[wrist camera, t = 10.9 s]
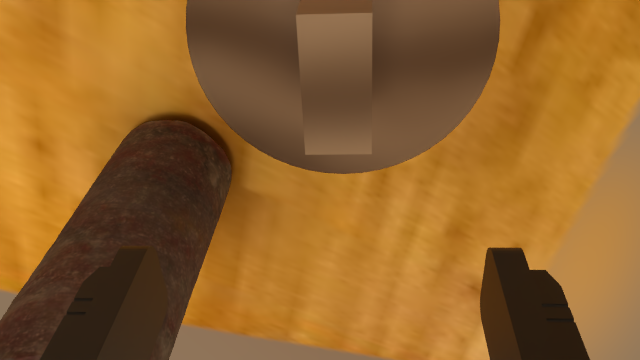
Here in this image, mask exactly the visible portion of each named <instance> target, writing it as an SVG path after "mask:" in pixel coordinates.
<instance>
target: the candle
mask: <svg viewBox="0 0 640 360" xmlns="http://www.w3.org/2000/svg"><path fill="white" fill-rule="evenodd" d="M230 182H231V166H230V162H229V160H228V158H227V155H226V154H225V152H224V150H223V149H222V148H221V147H220V146H219V145H218V144H217V143H216V142H215V141H214V140H213V139H212V138H211V137H210V136H208V135H207V134H206V133H204V132H203V131H201V130H199V129H198V128H197V127H195V126H193V125H191V124H189V123H187V122H182V121H177V120H175V121H171V120H161V121H150V122H146V123H144V124H142V125H140V126H138V127H137V128H135V129H134V130H132V131H131V132H130V133H129V134H128V135H127V136H126V137H125V138H124V140H123V141H122V143H121V144H120V146H119V147H118V148H117V150H116V151H115V153H114V154H113V155H112V157H111V158H110V160H109V161H108V163H107V164H106V166H105V167H104V169H103V170H102V172H101V173H100V174H99V176H98V177H97V179H96V181H95V182H94V183H93V185H92V186H91V188H90V189H89V191H88V192H87V194H86V195H85V197H84V198H83V200H82V201H81V203H80V204H79V206H78V208H77V209H76V210H75V212H74V213H73V215H72V217H71V218H70V219H69V221H68V222H67V224H66V225H65V227H64V228H63V230H62V231H61V233H60V234H59V236H58V238H57V239H56V241H55V242H54V244H53V245H52V246H51V248H50V249H49V250H48V252H47V253H46V254H45V256H44V258H43V259H42V261H41V262H40V264H39V265H38V267H37V268H36V269H35V271H34V272H33V273H32V275H31V276H30V278H29V280H28V281H27V282H26V284H25V285H24V286H23V288H22V289H21V291H20V292H19V293H18V295H17V296H16V297H15V299H14V300H13V302H12V304H11V305H10V307H9V308H8V310H7V312H6V313H5V314H4V316H3V317H2V319H1V320H0V360H40V358H41V356H42V355H43V353H44V351H45V349H46V347H47V346H48V344H49V342H50V340H51V338H52V337H53V335H54V333H55V331H56V330H57V328H58V326H59V324H60V322H61V321H62V319H63V317H64V315H66V314H67V310H68V308H69V306H70V305H71V303H72V302H74V297H75V296H76V294H77V292H78V290H79V288H80V287H81V285H82V283H83V281H84V280H86V279H87V278H88V277H89V276H90V275H91V274H92V273H93V272H95V271H96V270H97V269H98V268H99V267H110V265H111V263H112V261H113V260H114V258H115V256H116V254H117V252H118V250H119V249H120V248H121V247H122V246H153V247H154V248H155V249H156V252H157V255H158V259H159V263H160V267H161V270H162V274H163V278H164V282H165V286H166V290H167V297H168V303H167V312H166V316H165V319H164V321H163V324H162V327H161V329H160V332H159V335H158V338H157V340H156V343H155V346H154V348H153V351H152V354H151V357H150V359H149V360H169V357H170V354H171V352H172V349H173V347H174V343H175V340H176V337H177V334H178V331H179V329H180V326H181V323H182V320H183V318H184V315H185V312H186V309H187V306H188V302H189V299H190V297H191V294H192V291H193V288H194V286H195V283H196V281H197V278H198V275H199V272H200V269H201V267H202V264H203V261H204V258H205V255H206V253H207V250H208V247H209V245H210V242H211V239H212V236H213V233H214V230H215V228H216V225H217V222H218V220H219V217H220V214H221V211H222V208H223V205H224V202H225V200H226V197H227V194H228V191H229V187H230Z"/></svg>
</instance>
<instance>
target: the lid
mask: <svg viewBox="0 0 640 360" xmlns="http://www.w3.org/2000/svg"><path fill="white" fill-rule="evenodd" d="M499 29H500V13H499V1H498V0H188V1H187V7H186V32H187V42H188V48H189V53H190V57H191V61H192V65H193V68H194V70H195V73H196V76H197V78H198V81H199V83H200V85H201V87H202V89H203V91H204V93H205V94H206V96H207V98H208V100H209V101H210V103H211V104H212V106H213V107H214V108H215V110H216V111H217V113H218V114H219V115H220V116H221V118H222V119H223V120H224V121H225V122H226V123H227V124H228V125H229V126H230V128H231V129H233V130H234V131H235V132H236V133H237V134H238V135H239V136H241V137H242V138H243V139H244V140H245V141H247V142H248V143H250V144H251V145H252V146H254V147H255V148H257V149H258V150H260V151H262V152H264V153H265V154H267V155H269V156H271V157H273V158H275V159H277V160H280V161H282V162H285V163H287V164H290V165H292V166H296V167H300V168H303V169H307V170H312V171H318V172H324V173H339V174H348V173H363V172H369V171H374V170H380V169H383V168H387V167H390V166H394V165H397V164H399V163H402V162H404V161H407V160H409V159H411V158H414V157H415V156H417V155H419V154H421V153H423V152H424V151H426V150H428V149H430V148H431V147H432V146H434V145H435V144H437V143H438V142H439V141H441V140H442V139H444V138H445V137H446V136H447V135H448V134H449V133H450V132H451V131H452V130H453V129H455V128H456V127H457V126H458V125H459V123H460V122H461V121H462V120H463V119H464V118H465V116H466V115H467V114H468V113H469V112H470V110H471V109H472V107H473V106H474V104H475V103H476V101H477V100H478V98H479V97H480V95H481V93H482V91H483V89H484V87H485V85H486V83H487V81H488V79H489V76H490V73H491V70H492V67H493V64H494V61H495V57H496V52H497V47H498V42H499Z"/></svg>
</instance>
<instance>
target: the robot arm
mask: <svg viewBox="0 0 640 360" xmlns="http://www.w3.org/2000/svg"><path fill="white" fill-rule="evenodd" d="M167 303H168V297H167V290H166V286H165V282H164V278H163V274H162V270H161V267H160V263H159V259H158V255H157V252H156V249H155V248H154V247H153V246H122V247H121V248H120V249H119V250H118V252H117V254H116V256H115V258H114V260H113V261H112V263H111V265H110V267H99V268H98V269H97V270H96V271H95V272H93V273H92V274H91V275H90V276H89V277H88V278H87V279H86V280H84V281H83V283H82V285H81V287H80V288H79V290H78V292H77V294H76V296H75V297H74V302H72V303H71V305H70V306H69V308H68V310H67V314H66V315H64V317H63V319H62V321H61V322H60V324H59V326H58V328H57V330H56V331H55V333H54V335H53V337H52V338H51V340H50V342H49V344H48V346H47V347H46V349H45V351H44V353H43V355H42V356H41V358H40V360H149V359H150V357H151V354H152V351H153V348H154V346H155V343H156V340H157V338H158V335H159V332H160V329H161V327H162V324H163V321H164V319H165V316H166V312H167ZM480 310H481V319H482V324H483V329H484V334H485V338H486V343H487V347H488V352H489V356H490V360H590V359H589V356H588V354H587V351H586V349H585V346H584V343H583V341H582V338H581V336H580V333H579V331H578V328H577V326H576V323H574V318H573V315H572V313H571V310H570V308H568V303H567V300H566V298H565V295H564V292H563V290H562V288H561V286H560V285H559V283H558V282H557V281H556V280H555V279H554V278H553V277H552V276H551V275H550V274H549V273H548V272H547V271H546V270H529V267H528V264H527V261H526V258H525V255H524V252H523V250H522V249H521V248H488V250H487V253H486V260H485V267H484V274H483V281H482V288H481V296H480Z"/></svg>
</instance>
